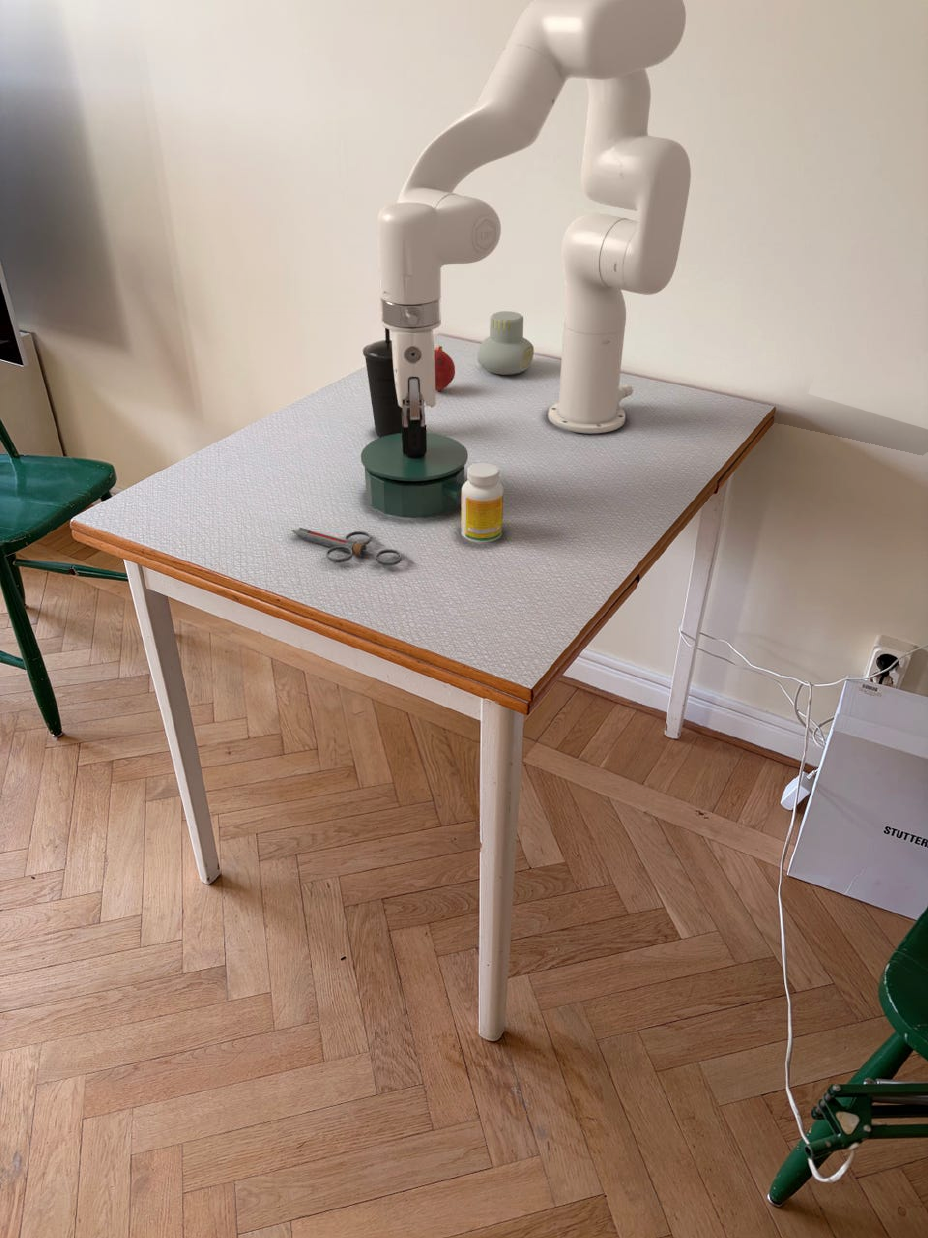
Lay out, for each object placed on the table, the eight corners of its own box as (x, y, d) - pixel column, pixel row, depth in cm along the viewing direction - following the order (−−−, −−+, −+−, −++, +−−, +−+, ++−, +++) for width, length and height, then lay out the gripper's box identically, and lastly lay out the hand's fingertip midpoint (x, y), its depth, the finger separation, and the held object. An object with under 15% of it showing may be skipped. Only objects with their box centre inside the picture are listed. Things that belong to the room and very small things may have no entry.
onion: (454, 397, 163) (454, 351, 158) (421, 397, 163) (420, 351, 159) (455, 385, 168) (455, 340, 163) (423, 384, 168) (422, 340, 163)
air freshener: (495, 357, 180) (496, 304, 174) (536, 363, 177) (539, 310, 171) (473, 376, 171) (473, 321, 166) (515, 383, 169) (517, 327, 163)
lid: (418, 430, 138) (416, 383, 134) (489, 461, 129) (490, 412, 125) (339, 460, 129) (335, 411, 125) (410, 495, 121) (409, 444, 117)
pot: (406, 461, 142) (405, 429, 139) (497, 504, 131) (499, 470, 128) (335, 490, 134) (332, 456, 131) (426, 538, 123) (425, 502, 120)
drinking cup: (418, 424, 153) (415, 300, 142) (411, 444, 147) (408, 316, 136) (372, 422, 154) (365, 298, 142) (363, 442, 148) (355, 314, 136)
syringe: (299, 520, 127) (298, 509, 126) (415, 552, 120) (415, 540, 119) (264, 546, 121) (262, 534, 120) (384, 581, 114) (383, 569, 114)
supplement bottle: (454, 530, 125) (454, 464, 119) (490, 522, 127) (492, 456, 121) (472, 549, 121) (473, 481, 115) (509, 540, 123) (511, 473, 117)
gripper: (445, 331, 111) (445, 473, 122) (437, 292, 124) (438, 422, 135) (381, 332, 111) (387, 475, 121) (380, 293, 124) (385, 424, 134)
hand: (414, 446), depth 128 cm, fingers closed on lid, 3 cm apart
